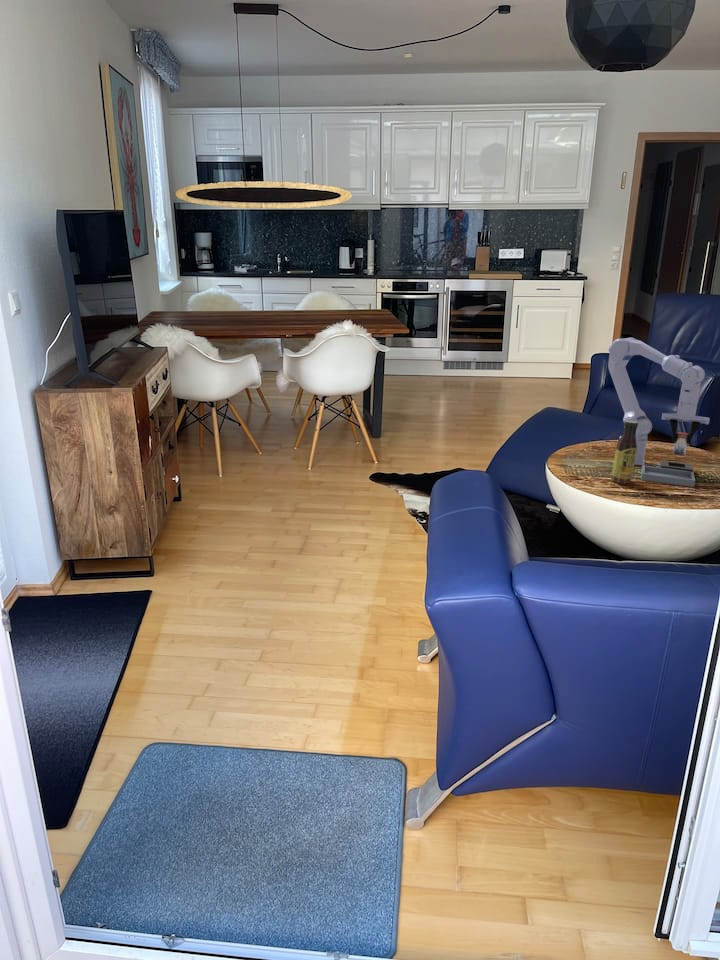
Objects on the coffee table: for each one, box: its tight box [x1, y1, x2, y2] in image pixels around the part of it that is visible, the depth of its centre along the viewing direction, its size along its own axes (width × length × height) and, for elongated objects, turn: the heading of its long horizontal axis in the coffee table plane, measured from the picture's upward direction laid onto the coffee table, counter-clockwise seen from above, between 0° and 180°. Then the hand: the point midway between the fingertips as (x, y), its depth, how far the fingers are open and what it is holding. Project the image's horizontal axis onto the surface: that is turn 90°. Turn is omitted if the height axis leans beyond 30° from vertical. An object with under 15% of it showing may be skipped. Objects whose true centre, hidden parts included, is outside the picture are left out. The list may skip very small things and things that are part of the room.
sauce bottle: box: [610, 420, 638, 485], centre depth 230 cm, size 7×6×20 cm
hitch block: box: [659, 459, 694, 472], centre depth 247 cm, size 10×8×2 cm
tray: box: [640, 465, 696, 488], centre depth 238 cm, size 16×11×2 cm
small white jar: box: [672, 431, 689, 456], centre depth 244 cm, size 4×4×7 cm
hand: (681, 442), depth 244 cm, fingers closed on small white jar, 4 cm apart
